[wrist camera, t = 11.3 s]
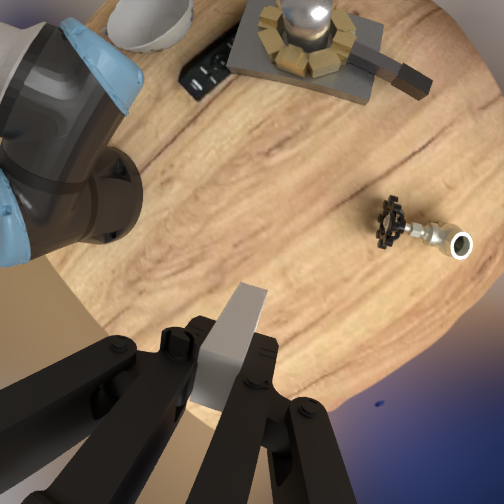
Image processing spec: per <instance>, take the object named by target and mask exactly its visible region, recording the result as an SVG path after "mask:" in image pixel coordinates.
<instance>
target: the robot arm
mask: <svg viewBox="0 0 504 504" xmlns="http://www.w3.org/2000/svg"><path fill="white" fill-rule="evenodd" d="M143 84H144V74H143V72H142V70H141V68H140V67H139V66H137V65H136V64H135V63H134V62H133V61H132V60H130V59H129V58H128V57H127V56H125V55H124V54H123V53H122V52H120V51H119V50H118V49H116V48H115V47H114V46H112V45H111V44H110V43H109V42H107V41H106V40H104V39H103V38H102V37H100V36H99V35H98V34H96V33H95V32H93V31H92V30H90V29H89V28H87V27H86V26H84V25H83V24H81V23H80V22H79V21H77V20H76V19H74V18H72V17H69V18H66V19H65V20H64V21H62V22H61V23H60V28H58V27H55V26H53V25H51V24H48V23H46V22H42V23H39V24H37V25H35V26H32V27H30V28H28V29H23V30H21V29H18V28H16V27H13V26H10V25H7V24H5V23H2V22H0V137H2V138H3V139H2V142H1V145H0V267H11V266H14V265H18V264H21V263H22V264H26V263H28V261H30V260H32V259H35V258H37V257H40V256H42V255H45V254H47V253H50V252H52V251H55V250H57V249H60V248H63V247H65V246H68V245H71V244H73V243H76V242H83V243H91V244H99V245H101V244H108V243H111V242H114V241H116V240H119V239H121V238H123V237H124V236H125V235H127V234H128V233H129V232H130V231H131V230H132V228H133V227H134V225H135V224H136V222H137V220H138V218H139V215H140V212H141V208H142V202H143V188H142V182H141V178H140V174H139V172H138V169H137V167H136V166H135V164H134V162H133V161H132V160H131V158H130V157H129V156H128V155H127V154H125V153H124V152H122V151H121V150H119V149H116V148H113V147H106V146H107V144H108V143H109V141H110V139H111V138H112V136H113V134H114V133H115V131H116V130H117V128H118V126H119V125H120V123H121V122H122V120H123V119H124V117H125V116H126V117H127V115H128V113H129V111H128V110H129V109H130V107H131V105H132V103H133V102H134V100H135V98H136V97H137V95H138V94H139V92H140V91H141V89H142V87H143ZM267 292H268V290H265V289H262V288H258V287H255V286H252V285H248V284H245V283H242V282H240V284H239V285H238V287H237V289H236V290H235V292H234V294H233V295H232V297H231V298H230V300H229V302H228V303H227V305H226V307H225V308H224V310H223V311H222V313H221V315H220V316H219V318H218V320H217V321H215V320H212V319H209V318H206V317H203V316H201V315H200V316H197V317H195V318H193V319H191V321H190V322H189V323H188V324H187V326H186V327H185V328H181V327H170V328H166V329H164V330H163V331H162V335H161V343H160V350H159V351H158V352H155V353H153V352H145V351H140V350H137V346H136V344H135V342H134V341H133V340H132V339H130V338H128V337H126V336H121V335H112V336H109V337H106V338H104V339H102V340H100V341H98V342H96V343H94V344H92V345H90V346H88V347H86V348H84V349H82V350H80V351H78V352H76V353H74V354H72V355H70V356H68V357H66V358H64V359H62V360H60V361H58V362H56V363H54V364H52V365H50V366H48V367H46V368H44V369H42V370H40V371H38V372H36V373H34V374H32V375H30V376H28V377H26V378H24V379H22V380H20V381H18V382H16V383H13V384H12V385H9V386H7V387H6V388H3V389H1V390H0V494H2V493H3V492H5V491H7V490H8V489H10V488H12V487H13V486H15V485H16V484H18V483H19V482H21V481H23V480H24V479H26V478H27V477H29V476H30V475H32V474H33V473H35V472H37V471H38V470H40V469H41V468H43V467H44V466H46V465H47V464H48V463H50V462H52V461H53V460H55V459H56V458H57V457H59V456H60V455H62V454H63V453H65V452H66V451H67V450H69V449H71V448H72V447H73V446H75V445H76V444H78V443H79V442H81V441H82V440H83V439H85V438H86V437H88V436H89V435H90V434H91V435H90V436H89V438H88V439H87V440H86V441H85V443H84V444H83V445H82V446H81V447H80V449H79V450H78V451H77V452H76V454H75V455H74V456H73V458H72V459H71V460H70V461H69V463H68V464H67V465H66V466H65V468H64V469H63V470H62V471H61V473H60V474H59V475H58V477H57V478H56V479H55V480H54V482H53V483H52V484H51V485H50V486H49V487H48V488H47V489H46V490H44V491H35V492H33V493H31V494H29V495H28V496H27V497H26V498H25V499H24V500H23V502H22V503H21V504H135V502H136V500H137V498H138V497H139V495H140V493H141V491H142V490H143V488H144V486H145V484H146V482H147V480H148V478H149V477H150V475H151V473H152V471H153V469H154V467H155V466H156V464H157V462H158V460H159V458H160V456H161V454H162V453H163V451H164V449H165V447H166V445H167V443H168V441H169V440H170V437H171V436H172V434H173V432H174V430H175V428H176V426H177V424H178V422H179V421H180V418H181V417H182V415H183V413H184V411H185V409H186V404H187V400H188V398H189V396H190V395H191V396H190V401H192V402H194V403H197V404H200V405H203V406H206V407H209V408H211V409H214V410H217V411H220V412H222V415H221V417H220V420H219V422H218V425H217V427H216V430H215V433H214V435H213V438H212V440H211V442H210V445H209V448H208V450H207V453H206V455H205V458H204V460H203V462H202V465H201V467H200V470H199V472H198V475H197V477H196V480H195V482H194V484H193V487H192V489H191V492H190V494H189V497H188V499H187V501H186V503H185V504H247V501H248V497H249V493H250V489H251V485H252V481H253V477H254V472H255V468H256V464H257V460H258V455H259V451H260V447H261V446H263V447H265V448H267V456H268V464H269V472H270V480H271V489H272V497H273V504H357V502H356V499H355V496H354V493H353V490H352V487H351V483H350V480H349V477H348V474H347V471H346V468H345V465H344V462H343V459H342V456H341V453H340V450H339V447H338V444H337V441H336V438H335V435H334V432H333V429H332V426H331V423H330V420H329V417H328V414H327V411H326V409H325V408H324V406H323V405H322V404H321V403H320V402H318V401H317V400H314V399H312V398H308V397H298V398H295V399H293V400H292V401H291V400H289V399H287V398H285V397H283V396H282V395H280V394H279V393H278V392H277V391H276V390H275V388H274V387H273V384H272V379H273V374H274V369H275V364H276V358H277V353H278V348H279V345H278V343H277V341H276V338H272V337H269V336H266V335H262V334H259V333H256V332H255V331H256V328H257V325H258V322H259V318H260V315H261V312H262V308H263V305H264V302H265V298H266V295H267Z"/></svg>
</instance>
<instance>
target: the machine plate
mask: <svg viewBox="0 0 504 504" xmlns="http://www.w3.org/2000/svg"><path fill="white" fill-rule="evenodd" d="M275 1H276V0H248V2H247V5H246V8H245V11H244V13H243V16H242V19H241V22H240V25H239V28H238V31H237V34H236V37H235V40H234V43H233V46H232V49H231V52H230V55H229V58H228V61H227V65H226V67H227V68H228V70H229V71H230V72H231V73H232V74H238V75H245V76H250V77H256V78H261V79H267V80H272V81H276V82H281V83H286V84H290V85H294V86H298V87H303V88H306V89H310V90H314V91H318V92H322V93H325V94H329V95H332V96H336V97H339V98H342V99H345V100H349V101H352V102H355V103H358V104H361V105H364V106H365V105H366V104H367V103H368V101H369V100H370V95H371V90H372V86H373V81H374V76H375V75H374V74H372V73H370V72H368V71H366V70H364V69H362V68H360V67H358V66H356V65H354V64H352V63H349V62H346V64H345V66H343V65H340V68H339V71H337V72H333V73H330V74H327V75H323V76H320V77H317V78H312V76H311V74H310V72H309V70H308V71H307V73H306V75H305V77H304V78H302V77H299V76H297V75H294V74H291V73H289V72H286V71H283V70H280V69H278V68H277V65H276V62H273V63H271V61H270V59H269V57H268V55H267V53H266V51H265V49H264V47H263V45H262V43H261V41H260V38H259V36H258V33H257V32H260V31H259V28H258V26H257V25H258V24H259V22H260V17H259V16H260V14H261V12H262V10H263V9H264V7H268V6H273V7H276V2H275ZM280 4H281V9H282V14H283V19H284V25H285V27H284V29H283V31H282V33H281V35H280V37H281V39H282V40H283V42H284V44H285V46H287V47H288V46H289V44H291V45H294V46H297V47H299V48H302V49H303V52H304V53H307V54H309V53H313V52H316V51H320V50H323V49H327V48H330V47H331V45H332V41H333V39H334V36H333V34H332V32H331V31H330V29H329V28H330V20H331V12H332V4H333V0H280ZM276 8H277V7H276ZM347 14H348V16H349V18H350V19H351V21H352V22H353V24H354V26H355V28H356V32H355V36H357V38H356V42H358V43H360V44H363V45H365V46H367V47H369V48H371V49H373V50H375V51H377V52H379V51H380V45H381V40H382V34H383V28H384V25H383V24H381V23H378V22H375V21H372V20H369V19H365V18H362V17H359V16H356V15H352V14H349V13H347Z"/></svg>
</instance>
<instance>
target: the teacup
mask: <svg viewBox="0 0 504 504" xmlns="http://www.w3.org/2000/svg"><path fill="white" fill-rule="evenodd" d="M193 17H194V4H193V0H120V1H119V2H118V3H117V4H116V6H115V9H114V11H113V12H112V13H111V15H110V17H109V19H108V23H107V26H105V27H103V28H102V30H101V32H100V33H101V35H102V36H104V37H106V38H109V39H110V40H111V41H112V43H113V44H114V45H115V46H116V47H118V48H120V49H122V50H125V51H129V52H133V53H155V52H159V51H163V50H165V49H168V48H170V47H171V46H173V45H175V44H176V43H177V42H179V41H180V40H181V39H182V38H183V37H184V36H185V35H186V33H187V32H188V30H189V28H190V26H191V24H192V21H193ZM107 32H108V34H107Z"/></svg>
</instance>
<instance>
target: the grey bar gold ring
mask: <svg viewBox="0 0 504 504" xmlns="http://www.w3.org/2000/svg"><path fill="white" fill-rule="evenodd" d="M275 2H276V7H277V8H276V7H273V6H268V7H264V9H263V10H262V12H261V14H260V16H259V17H260V22H259V24H258V25H257V26H258V28H259V31H260V32H257V33H258V36H259V38H260V41H261V43H262V45H263V47H264V49H265V51H266V53H267V55H268V57H269V59H270V61H271V63H273V62H276V65H277V68H278V69H280V70H283V71H286V72H289V73H291V74H294V75H297V76H299V77H302V78H304V77H305V75H306V73H307V71H308V70H309V72H310V74H311V76H312V78H317V77H320V76H323V75H327V74H330V73H333V72H337V71H339V68H340V65H343V66H345V64H346V62H349V63H352V64H354V65H356V66H358V67H360V68H362V69H364V70H366V71H368V72H370V73H372V74H374V75H376V76H378V77H380V78H382V79H384V80H386V81H388V82H390V83H391V85H392V86H394V87H396V88H398V89H400V90H401V91H403V92H405V93H406V94H408V95H410V96H412V97H413V98H415V99H417V100H418V101H419V100H421V99H422V98H424V97H426V96H427V95H428V93H429V91H430V88H431V85H432V82H433V80H431V79H430V78H428V77H426V76H425V75H423V74H421V73H420V72H418V71H416V70H415V69H413V68H411V67H410V66H408V65H406V64H404V63H403V64H400V63H398V62H396V61H395V60H393V59H391V58H389V57H387V56H385V55H383V54H381V53H379V52H377V51H375V50H373V49H371V48H369V47H367V46H365V45H363V44H360V43H358V42H356V38H357V36H355V32H356V28H355V26H354V24H353V22H352V21H351V19H350V18H349V16H348V14H347V13H346V11H345V10H344V8H341V9H336V5H337V3H336V2H333V4H332V12H331V20H330V28H329V29H330V31H331V32H332V34H333V36H334V39H333V41H332V45H331V47H330V48H327V49H323V50H320V51H316V52H313V53H309V54H307V53H304V52H303V49H302V48H299V47H297V46H294V45H291V44H289V46H288V47H287V46H285V44H284V42H283V40H282V39H281V37H280V35H281V33H282V31H283V29H284V27H285V25H284V19H283V14H282V9H281V4H280V0H276V1H275Z"/></svg>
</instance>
